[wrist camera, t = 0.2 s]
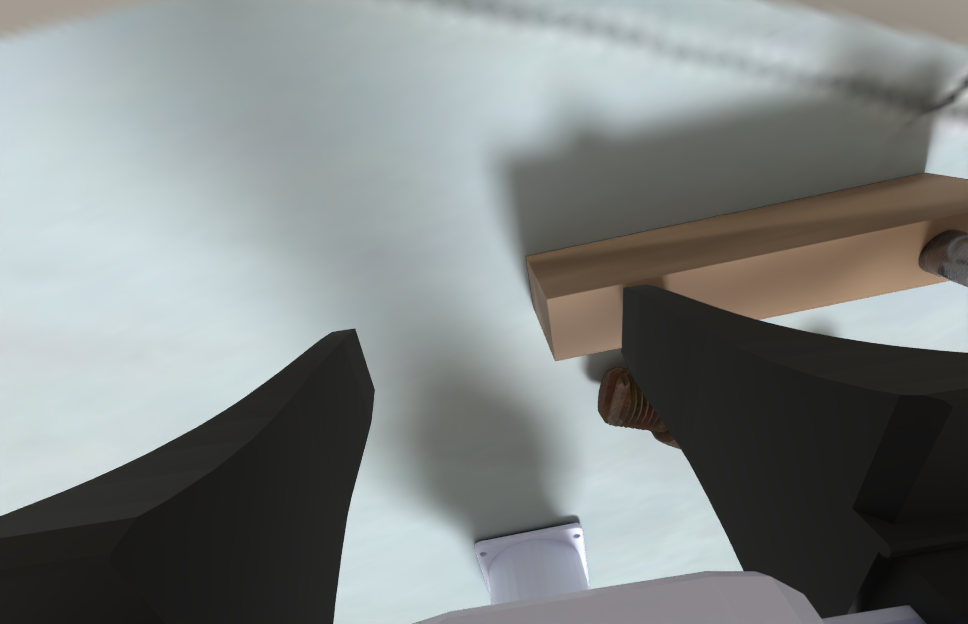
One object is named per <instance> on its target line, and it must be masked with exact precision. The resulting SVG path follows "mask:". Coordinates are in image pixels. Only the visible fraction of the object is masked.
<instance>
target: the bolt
mask: <svg viewBox="0 0 968 624" xmlns="http://www.w3.org/2000/svg"><path fill="white" fill-rule="evenodd" d="M598 412H599V414H600V415H601V417H602V418H603V420H604V422H605V423H607V424H608V423H609V425H613V426H620V427H623V426H624V427H625V428H626V427H630V428H633V429H634V428H636V429H642V430H649V431H651V432H652V434H653V435H654V437H655V438H656V439H657V440H658V441H660V442H662V443H664V444H667V445H669V446H672V447H675V448H678V449H681V448H680V447H679V445H678V444H677V442H676V441H675V439H674V438H673V436H672V435H671V434H670V432H669V431H668V429H667V428H666V426H665V425H664V423H663V422H662V420H661V419H660V417H659V416H658V414H657V413H656V412H655V410H654V409H653V407H652V406H651V404H650V403H649V401H648V400H647V398H646V397H645V395H644V394H643V392H642V391H641V389H640V388H639V386H638V385H637V383H636V382H635V380H634V378H633V376H632V374H631V372H630V370H629V369H624V368H614V369H613V370H610V371H608V372H607V373H606V375H605V376H604V378H603V380H602V382H601V385H600V389H599V396H598Z"/></svg>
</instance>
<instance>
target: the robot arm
mask: <svg viewBox="0 0 968 624" xmlns="http://www.w3.org/2000/svg"><path fill="white" fill-rule="evenodd" d="M621 352H622V354H623V357H624V359H625V361H626V363H627V365H628V368H629V370H630V372H631V374H632V376H633V378H634V380H635V382H636V383H637V385H638V386H639V388H640V389H641V391H642V392H643V394H644V395H645V397H646V398H647V400H648V401H649V403H650V404H651V406H652V407H653V409H654V410H655V412H656V413H657V414H658V416H659V417H660V419H661V420H662V422H663V423H664V425H665V426H666V428H667V429H668V431H669V432H670V434H671V435H672V436H673V438H674V439H675V441H676V442H677V444H678V445H679V447H680V448H681V450H682V452H683V453H684V455H685V456H686V458H687V460H688V461H689V463H690V465H691V467H692V469H693V470H694V472H695V474H696V476H697V478H698V480H699V482H700V484H701V485H702V487H703V489H704V491H705V493H706V495H707V497H708V499H709V501H710V503H711V505H712V507H713V509H714V511H715V513H716V515H717V516H718V518H719V520H720V522H721V524H722V526H723V528H724V530H725V532H726V534H727V536H728V538H729V541H730V543H731V545H732V547H733V549H734V551H735V553H736V556H737V558H738V560H739V562H740V564H741V566H742V568H743V571H704V572H698V573H692V574H685V575H679V576H673V577H666V578H660V579H654V580H647V581H641V582H635V583H628V584H622V585H615V586H609V587H603V588H596V589H590V584H589V576H588V569H587V561H586V553H585V545H584V537H583V530H582V526H581V525H580V524H579V523H572V524H566V525H561V526H556V527H551V528H546V529H541V530H536V531H531V532H526V533H520V534H515V535H510V536H505V537H500V538H495V539H490V540H485V541H480V542H478V543H476V544H475V552H476V555H477V558H478V561H479V564H480V567H481V570H482V573H483V576H484V579H485V582H486V585H487V588H488V591H489V594H490V597H491V605H488V606H482V607H476V608H469V609H463V610H457V611H451V612H447V613H444V614H441V615H438V616H435V617H432V618H429V619H426V620H422V621H419V622H416V623H413V624H968V353H963V352H950V351H939V350H929V349H919V348H909V347H900V346H892V345H884V344H876V343H869V342H863V341H856V340H850V339H844V338H838V337H831V336H826V335H821V334H816V333H811V332H806V331H801V330H797V329H793V328H788V327H784V326H779V325H775V324H771V323H767V322H764V321H760V320H756V319H753V318H750V317H746V316H743V315H740V314H736V313H733V312H730V311H727V310H724V309H720V308H717V307H715V306H712V305H709V304H706V303H703V302H700V301H697V300H694V299H691V298H689V297H686V296H683V295H680V294H677V293H674V292H672V291H669V290H665V289H662V288H659V287H656V286H652V285H647V284H645V285H638V286H632V287H625V288H623V314H622V351H621ZM374 392H375V389H374V386H373V383H372V380H371V377H370V374H369V371H368V368H367V364H366V361H365V358H364V355H363V352H362V349H361V346H360V342H359V339H358V336H357V333H356V330H355V329H349V330H343V331H336V332H332V333H330V334H328V335H327V336H325V337H324V338H322V339H321V340H320V341H318V342H317V343H316V344H314V345H313V346H312V347H310V348H309V349H308V350H307V351H305V352H304V353H303V354H302V355H300V356H299V357H298V358H297V359H295V360H294V361H293V362H292V363H290V364H289V365H288V366H286V367H285V368H284V369H283V370H281V371H280V372H279V373H277V374H276V375H275V376H273V377H272V378H271V379H269V380H268V381H267V382H265V383H264V384H262V385H261V386H260V387H258V388H257V389H256V390H254V391H253V392H251V393H250V394H249V395H247V396H246V397H244V398H243V399H242V400H240V401H239V402H237V403H236V404H234V405H232V406H231V407H229V408H228V409H226V410H225V411H223V412H221V413H220V414H218V415H217V416H215V417H213V418H212V419H210V420H208V421H207V422H205V423H203V424H202V425H200V426H198V427H196V428H195V429H193V430H191V431H189V432H187V433H185V434H183V435H182V436H180V437H178V438H176V439H174V440H172V441H170V442H168V443H167V444H165V445H163V446H161V447H159V448H157V449H155V450H154V451H152V452H150V453H148V454H146V455H144V456H142V457H139V458H137V459H135V460H133V461H131V462H129V463H127V464H125V465H123V466H121V467H118V468H116V469H114V470H112V471H110V472H107V473H105V474H103V475H101V476H98V477H96V478H94V479H92V480H89V481H87V482H85V483H82V484H80V485H78V486H75V487H73V488H71V489H68V490H66V491H63V492H61V493H58V494H56V495H53V496H51V497H48V498H46V499H43V500H41V501H38V502H35V503H33V504H30V505H28V506H25V507H23V508H20V509H18V510H15V511H13V512H10V513H8V514H5V515H2V516H0V624H333V620H334V611H335V601H336V593H337V585H338V578H339V570H340V562H341V555H342V548H343V542H344V535H345V528H346V522H347V516H348V511H349V506H350V502H351V497H352V493H353V490H354V486H355V482H356V479H357V475H358V471H359V467H360V464H361V460H362V456H363V452H364V449H365V445H366V441H367V437H368V433H369V429H370V425H371V420H372V412H373V403H374Z"/></svg>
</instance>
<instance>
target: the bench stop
mask: <svg viewBox="0 0 968 624" xmlns="http://www.w3.org/2000/svg"><path fill="white" fill-rule="evenodd" d="M526 261H527V267H528V274H529V280H530V287H531V293H532V300H533V306H534V310H535V313H536V315H537V318H538V320H539V323H540V325H541V327H542V330H543V332H544V335H545V337H546V340H547V342H548V345H549V347H550V350H551V352H552V355H553V357H554V359H555V361H559V360H564V359H569V358H574V357H579V356H584V355H588V354H593V353H598V352H603V351H608V350H613V349H618V348H622V314H623V288H625V287H632V286H638V285H645V284H647V285H652V286H656V287H659V288H662V289H665V290H669V291H672V292H674V293H677V294H680V295H683V296H686V297H689V298H691V299H694V300H697V301H700V302H703V303H706V304H709V305H712V306H715V307H717V308H720V309H724V310H727V311H730V312H733V313H736V314H740V315H743V316H746V317H750V318H753V319H756V320H760V319H765V318H770V317H775V316H780V315H784V314H789V313H794V312H799V311H804V310H809V309H814V308H819V307H824V306H829V305H833V304H838V303H843V302H848V301H853V300H858V299H863V298H868V297H873V296H878V295H882V294H887V293H892V292H897V291H902V290H907V289H912V288H917V287H922V286H927V285H931V284H936V283H941V282H946V281H953V282H955V283H958V284H961V285H964V286H966V287H968V179H963V178H956V177H950V176H944V175H937V174H931V173H922V174H917V175H912V176H907V177H903V178H898V179H893V180H888V181H884V182H879V183H874V184H869V185H865V186H860V187H855V188H850V189H845V190H841V191H836V192H831V193H826V194H822V195H817V196H812V197H807V198H803V199H798V200H793V201H788V202H783V203H779V204H774V205H769V206H764V207H760V208H755V209H750V210H745V211H741V212H736V213H731V214H726V215H722V216H717V217H712V218H707V219H702V220H698V221H693V222H688V223H683V224H679V225H674V226H669V227H664V228H660V229H655V230H650V231H645V232H640V233H636V234H631V235H626V236H621V237H617V238H612V239H607V240H602V241H598V242H593V243H588V244H583V245H578V246H574V247H569V248H564V249H559V250H555V251H550V252H545V253H540V254H536V255H531V256H526Z"/></svg>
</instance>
